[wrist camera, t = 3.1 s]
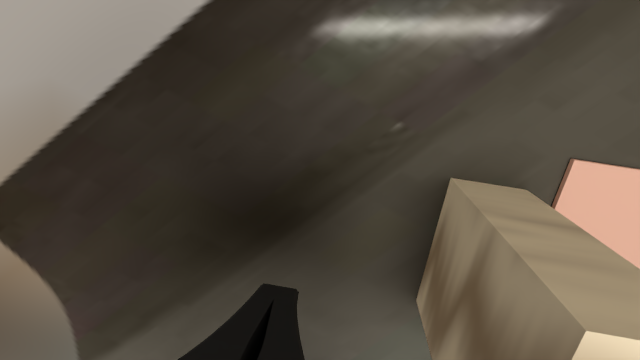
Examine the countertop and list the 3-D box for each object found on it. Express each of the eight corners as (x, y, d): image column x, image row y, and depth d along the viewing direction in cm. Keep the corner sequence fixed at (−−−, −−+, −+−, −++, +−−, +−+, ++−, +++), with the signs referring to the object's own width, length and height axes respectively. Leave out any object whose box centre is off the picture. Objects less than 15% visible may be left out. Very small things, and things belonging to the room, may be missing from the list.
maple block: (481, 311, 20) (617, 569, 10) (416, 299, 20) (480, 540, 10) (526, 190, 18) (775, 364, 7) (450, 177, 18) (586, 331, 7)
